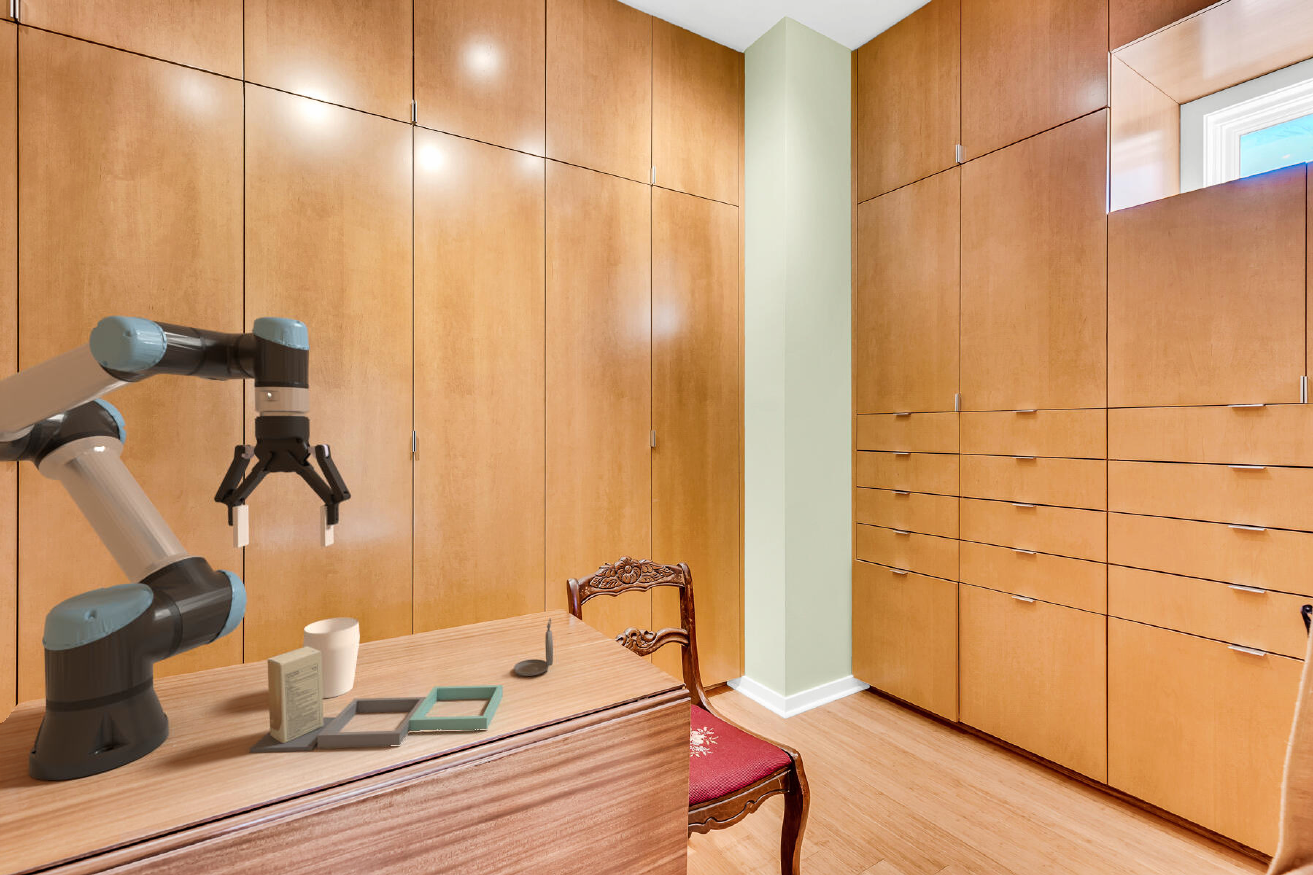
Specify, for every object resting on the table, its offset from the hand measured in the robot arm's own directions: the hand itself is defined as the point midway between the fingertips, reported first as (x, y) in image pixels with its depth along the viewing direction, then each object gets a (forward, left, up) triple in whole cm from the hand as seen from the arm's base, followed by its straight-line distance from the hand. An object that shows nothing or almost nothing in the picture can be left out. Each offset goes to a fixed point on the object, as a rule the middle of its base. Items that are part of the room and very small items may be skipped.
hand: (284, 545), depth 96 cm
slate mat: (+4, -5, -29) cm, 29 cm away
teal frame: (+27, +1, -29) cm, 40 cm away
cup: (+2, +11, -29) cm, 31 cm away
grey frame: (+15, -3, -29) cm, 33 cm away
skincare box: (+4, -5, -28) cm, 29 cm away
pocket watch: (+38, +18, -29) cm, 51 cm away
